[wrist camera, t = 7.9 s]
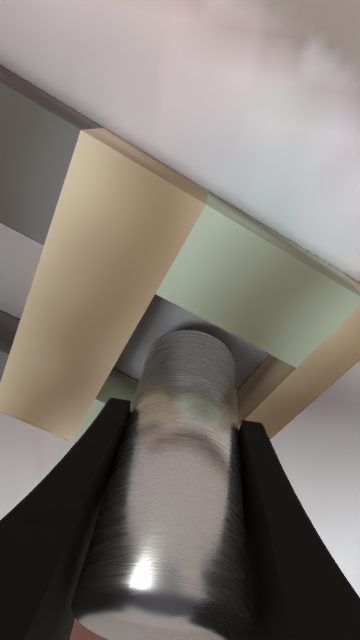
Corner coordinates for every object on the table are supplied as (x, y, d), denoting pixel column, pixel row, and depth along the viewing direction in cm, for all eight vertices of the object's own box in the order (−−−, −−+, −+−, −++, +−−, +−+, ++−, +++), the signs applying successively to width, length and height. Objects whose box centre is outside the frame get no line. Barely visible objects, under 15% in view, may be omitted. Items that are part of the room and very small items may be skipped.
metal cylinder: (134, 337, 13) (39, 582, 6) (225, 322, 12) (233, 583, 5) (159, 403, 15) (108, 651, 8) (241, 394, 14) (262, 660, 7)
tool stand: (-129, 314, 15) (-174, 339, 13) (-127, -12, 9) (-209, -43, 7) (206, 461, 18) (204, 497, 16) (376, 292, 12) (402, 321, 10)
